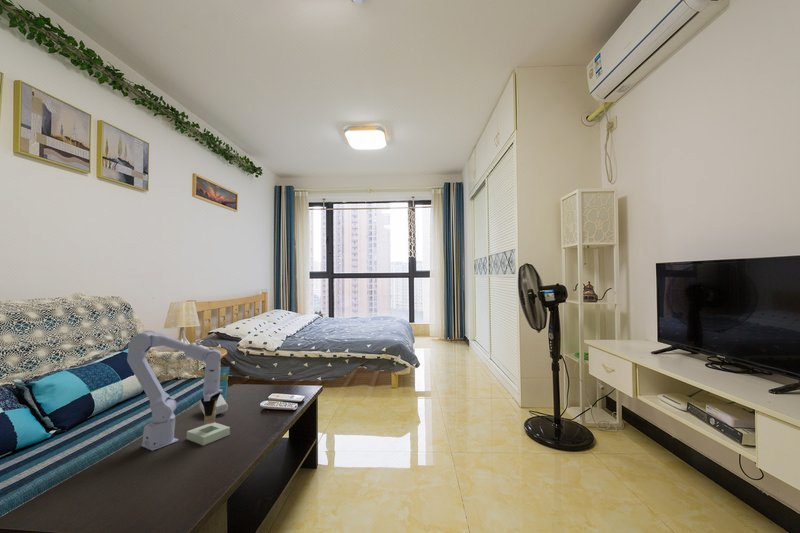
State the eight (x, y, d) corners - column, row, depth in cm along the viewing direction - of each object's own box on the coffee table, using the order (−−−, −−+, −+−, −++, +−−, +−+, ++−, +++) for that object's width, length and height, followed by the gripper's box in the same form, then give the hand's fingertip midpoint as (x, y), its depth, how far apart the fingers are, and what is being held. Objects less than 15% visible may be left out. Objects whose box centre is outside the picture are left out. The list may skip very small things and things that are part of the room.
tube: (212, 408, 164) (213, 368, 167) (211, 406, 168) (212, 367, 171) (228, 405, 168) (230, 366, 171) (227, 403, 172) (228, 365, 175)
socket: (203, 445, 126) (203, 437, 126) (186, 439, 131) (187, 431, 131) (229, 434, 136) (230, 427, 136) (212, 429, 141) (213, 421, 141)
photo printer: (228, 410, 159) (221, 398, 168) (228, 402, 158) (220, 390, 167) (204, 419, 152) (198, 406, 161) (204, 411, 151) (197, 398, 160)
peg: (207, 424, 131) (209, 401, 132) (201, 422, 133) (203, 400, 134) (217, 421, 135) (218, 399, 136) (211, 419, 137) (212, 397, 137)
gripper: (219, 383, 130) (216, 419, 129) (226, 374, 143) (224, 406, 142) (198, 385, 127) (196, 421, 126) (208, 375, 141) (206, 408, 140)
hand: (210, 413), depth 134 cm, fingers closed on peg, 4 cm apart
